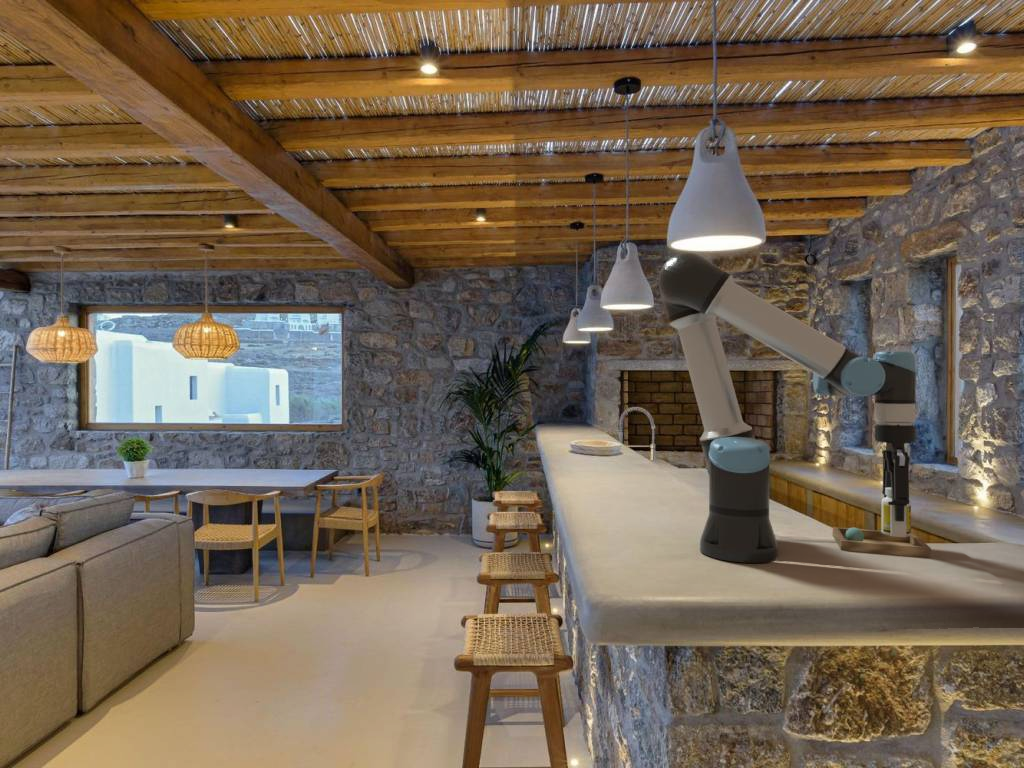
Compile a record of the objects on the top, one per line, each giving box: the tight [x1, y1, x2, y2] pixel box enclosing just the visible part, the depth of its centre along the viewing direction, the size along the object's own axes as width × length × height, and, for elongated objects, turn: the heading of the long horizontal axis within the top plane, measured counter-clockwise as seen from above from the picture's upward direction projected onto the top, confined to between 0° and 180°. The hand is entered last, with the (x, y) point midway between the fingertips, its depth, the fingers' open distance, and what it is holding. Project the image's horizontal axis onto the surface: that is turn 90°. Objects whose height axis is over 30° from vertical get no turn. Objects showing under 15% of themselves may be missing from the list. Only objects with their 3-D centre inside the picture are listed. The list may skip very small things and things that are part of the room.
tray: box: [832, 526, 932, 559], centre depth 136 cm, size 16×14×2 cm
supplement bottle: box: [880, 487, 912, 537], centre depth 135 cm, size 5×5×10 cm
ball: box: [846, 526, 864, 541], centre depth 138 cm, size 4×4×4 cm
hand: (895, 533), depth 135 cm, fingers closed on supplement bottle, 5 cm apart
